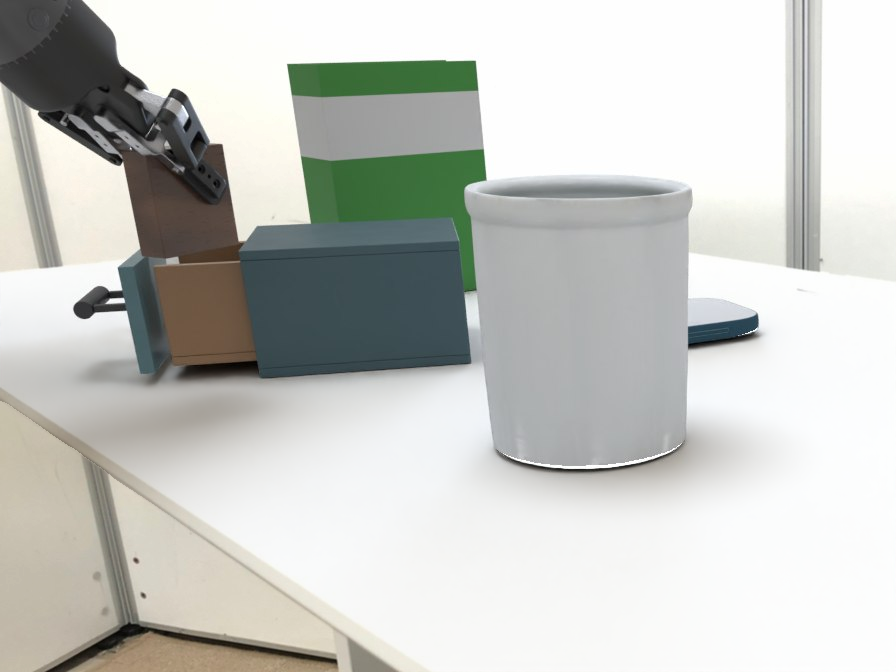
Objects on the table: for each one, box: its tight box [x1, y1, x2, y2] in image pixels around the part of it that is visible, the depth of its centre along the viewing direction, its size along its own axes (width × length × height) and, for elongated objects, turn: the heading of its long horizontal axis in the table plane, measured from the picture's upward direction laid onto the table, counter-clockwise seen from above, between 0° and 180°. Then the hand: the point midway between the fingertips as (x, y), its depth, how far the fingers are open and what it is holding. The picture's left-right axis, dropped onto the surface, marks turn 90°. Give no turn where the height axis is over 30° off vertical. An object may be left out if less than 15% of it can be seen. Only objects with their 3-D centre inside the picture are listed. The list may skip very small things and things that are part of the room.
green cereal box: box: [286, 59, 488, 292], centre depth 130 cm, size 18×7×24 cm, turn 131°
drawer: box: [72, 240, 257, 375], centre depth 105 cm, size 21×13×9 cm, turn 105°
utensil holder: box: [464, 174, 694, 466], centre depth 82 cm, size 15×15×18 cm
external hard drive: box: [688, 297, 760, 345], centre depth 112 cm, size 24×12×2 cm, turn 120°
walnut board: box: [121, 142, 240, 259], centre depth 89 cm, size 2×7×8 cm, turn 154°
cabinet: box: [238, 217, 472, 379], centre depth 108 cm, size 18×15×11 cm
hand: (203, 193), depth 91 cm, fingers closed on walnut board, 2 cm apart
